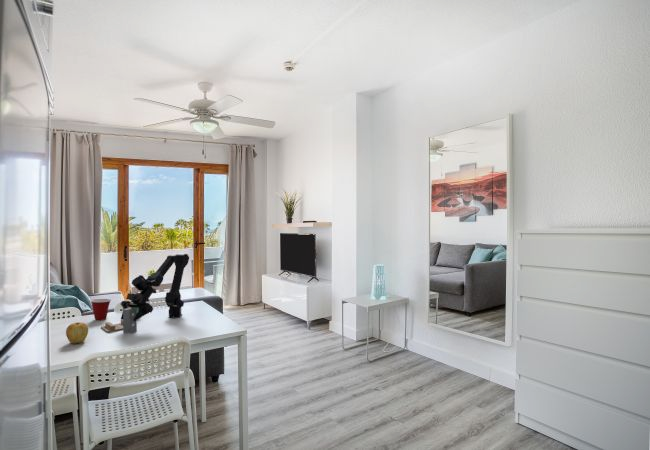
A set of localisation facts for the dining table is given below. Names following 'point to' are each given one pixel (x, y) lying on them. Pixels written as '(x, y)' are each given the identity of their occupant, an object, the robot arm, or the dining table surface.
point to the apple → (77, 332)
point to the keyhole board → (120, 327)
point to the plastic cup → (100, 308)
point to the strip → (129, 320)
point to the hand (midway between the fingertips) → (127, 320)
